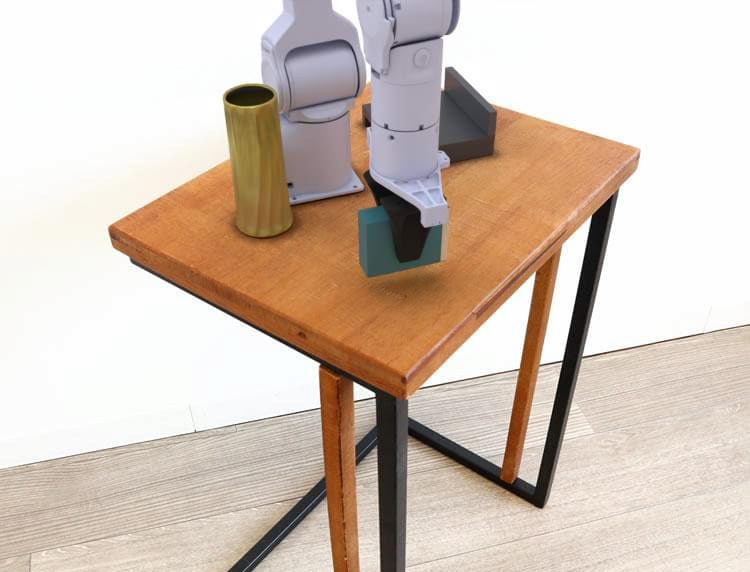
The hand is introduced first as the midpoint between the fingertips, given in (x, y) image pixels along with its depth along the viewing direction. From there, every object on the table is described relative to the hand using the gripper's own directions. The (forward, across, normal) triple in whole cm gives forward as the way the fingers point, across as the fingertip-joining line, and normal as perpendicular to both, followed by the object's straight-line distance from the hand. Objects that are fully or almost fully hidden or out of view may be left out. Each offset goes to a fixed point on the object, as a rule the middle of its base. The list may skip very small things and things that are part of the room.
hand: (403, 250), depth 79 cm
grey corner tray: (+4, +26, -13) cm, 29 cm away
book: (+1, 0, 0) cm, 1 cm away
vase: (+4, +15, +10) cm, 18 cm away
